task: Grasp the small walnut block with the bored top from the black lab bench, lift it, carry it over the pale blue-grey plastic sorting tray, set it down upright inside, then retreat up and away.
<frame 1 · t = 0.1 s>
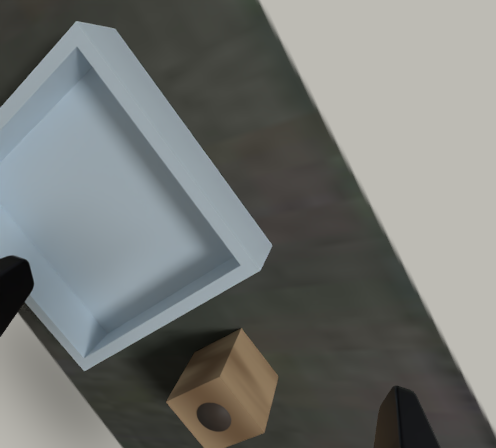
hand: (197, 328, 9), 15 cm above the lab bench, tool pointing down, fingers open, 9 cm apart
sorting tray: (113, 208, 27), on the lab bench
walnut block: (235, 363, 29), on the lab bench
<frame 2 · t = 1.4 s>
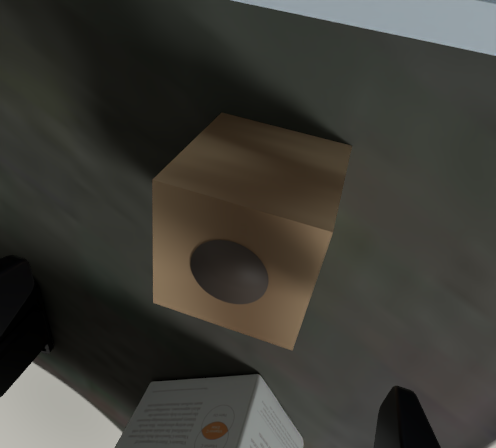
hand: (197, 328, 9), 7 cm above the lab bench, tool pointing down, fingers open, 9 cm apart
small box: (227, 406, 24), on the lab bench
walnut block: (273, 185, 15), on the lab bench
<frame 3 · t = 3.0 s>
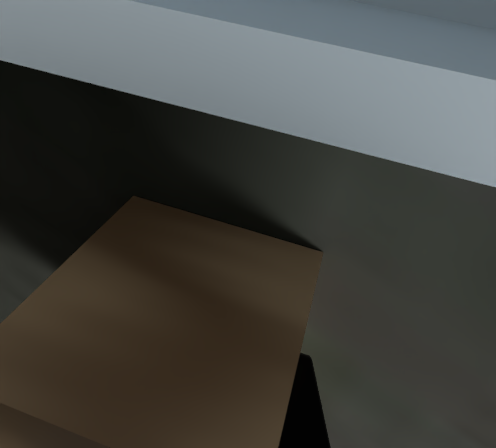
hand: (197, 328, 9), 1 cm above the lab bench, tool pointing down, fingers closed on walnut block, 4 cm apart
walnut block: (215, 292, 10), on the lab bench, touching gripper
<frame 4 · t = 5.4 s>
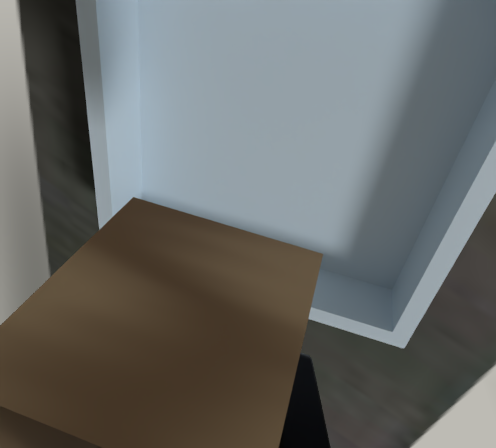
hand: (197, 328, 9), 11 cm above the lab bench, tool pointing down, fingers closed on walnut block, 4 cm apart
sorting tray: (288, 124, 18), on the lab bench
walnut block: (215, 293, 10), point 10 cm above the lab bench, touching gripper
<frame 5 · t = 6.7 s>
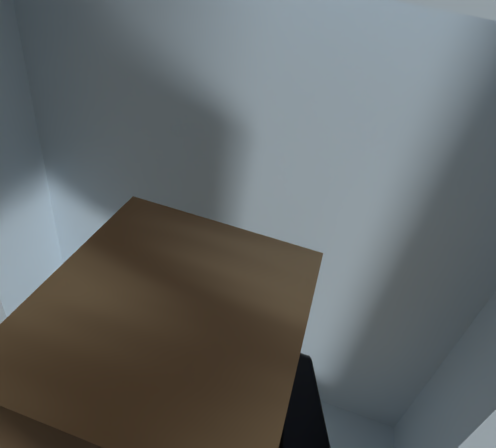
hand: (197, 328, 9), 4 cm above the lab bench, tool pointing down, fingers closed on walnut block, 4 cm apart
sorting tray: (251, 223, 13), on the lab bench
walnut block: (215, 292, 10), point 3 cm above the lab bench, touching gripper
when the fingers open (3 cm above the lab bench, at t = 7.7 s): walnut block drops 1 cm, resting on sorting tray.
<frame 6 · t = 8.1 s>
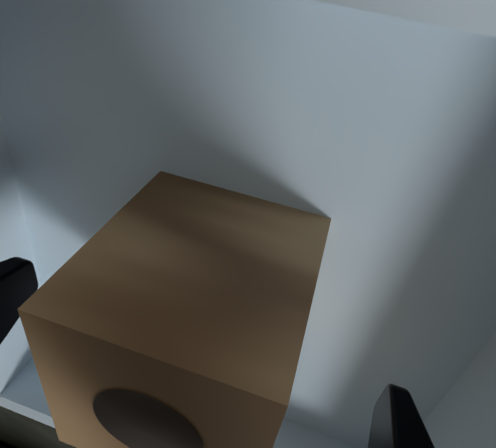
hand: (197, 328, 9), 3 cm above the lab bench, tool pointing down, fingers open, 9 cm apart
sorting tray: (239, 246, 12), on the lab bench
walnut block: (233, 260, 11), point 1 cm above the lab bench, touching sorting tray
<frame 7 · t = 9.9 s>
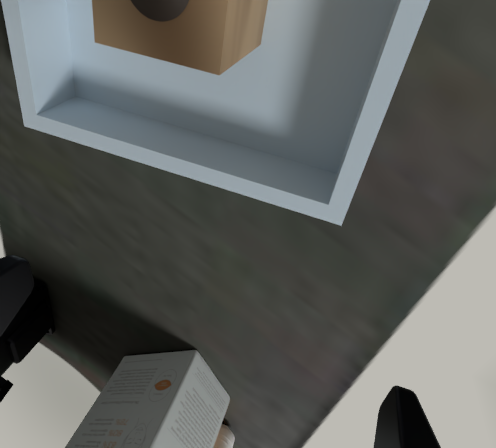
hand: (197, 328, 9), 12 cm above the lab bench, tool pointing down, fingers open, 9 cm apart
small box: (178, 374, 35), on the lab bench
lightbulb: (225, 424, 37), on the lab bench
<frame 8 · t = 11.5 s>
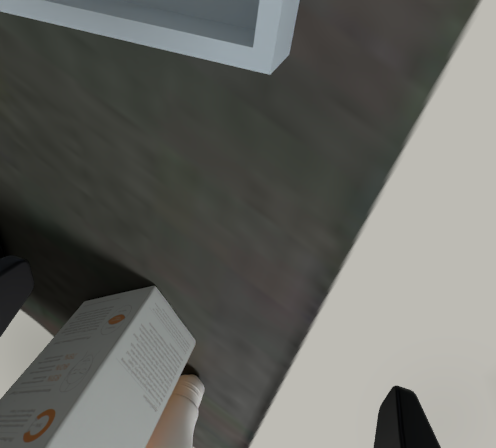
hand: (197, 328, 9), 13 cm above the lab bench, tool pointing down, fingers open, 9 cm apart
small box: (141, 318, 32), on the lab bench
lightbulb: (195, 375, 35), on the lab bench
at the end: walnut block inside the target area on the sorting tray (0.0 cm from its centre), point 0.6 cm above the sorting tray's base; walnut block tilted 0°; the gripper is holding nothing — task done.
